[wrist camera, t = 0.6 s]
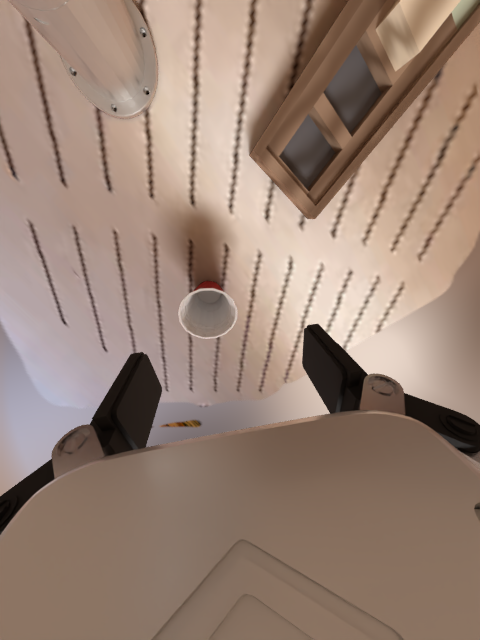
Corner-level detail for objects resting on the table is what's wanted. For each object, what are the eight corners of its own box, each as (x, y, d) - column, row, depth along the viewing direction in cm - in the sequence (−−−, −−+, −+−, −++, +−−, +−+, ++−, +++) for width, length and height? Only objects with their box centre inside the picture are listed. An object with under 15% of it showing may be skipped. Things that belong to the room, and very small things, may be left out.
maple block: (375, 29, 27) (399, 2, 24) (413, -25, 25) (445, -63, 22) (395, 71, 29) (419, 52, 26) (431, 24, 28) (463, -3, 24)
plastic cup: (205, 321, 49) (203, 350, 38) (176, 287, 44) (164, 310, 33) (241, 298, 47) (249, 322, 37) (215, 260, 42) (215, 275, 32)
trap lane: (249, 155, 34) (255, 144, 29) (473, -195, 22) (556, -325, 16) (307, 218, 40) (321, 219, 35) (508, -27, 28) (577, -83, 22)
